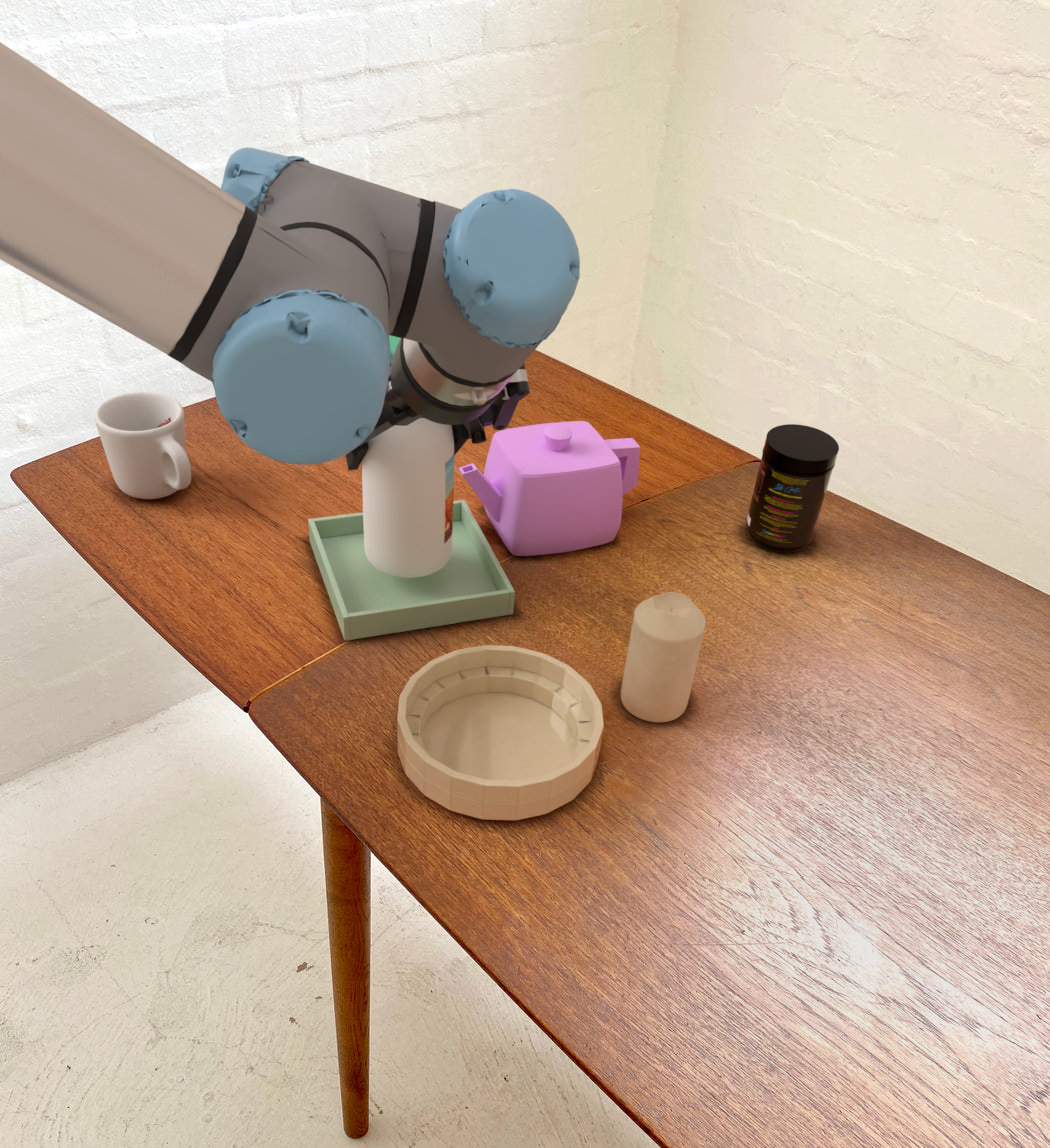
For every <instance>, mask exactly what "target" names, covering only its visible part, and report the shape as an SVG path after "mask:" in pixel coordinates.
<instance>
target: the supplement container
mask: <svg viewBox="0 0 1050 1148" xmlns="http://www.w3.org/2000/svg"><path fill="white" fill-rule="evenodd" d="M839 450H840V446H839V443H838V442H837V440H836V439H835V438H834V437H833V436H832V435H830V434H828V433H827V432H825V431H823V430H821V429H819V428H816V427H813V426H808V425H804V424H794V423H789V424H781V425H776V426H774V427H772V428H771V429H769V430H768V432H767V433H766V436H765V441H764V445H763V448H762V455H761V460H760V463H759V467H758V471H757V475H756V479H755V484H754V487H753V491H752V495H751V500H750V504H749V508H748V512H747V516H746V521H745V532H746V534H747V535H748V537H749V538H750V540H751V541H752V542H753V544H756V545H757V546H759V547H760V548H763V549H765V550H767V551H770V552H773V553H781V554H790V553H797V552H799V551H801V550H803V549H805V548H806V547H808V546H809V545H810V544H811V542H812V541H813V537H814V535H815V531H816V528H817V524H818V521H819V517H820V514H821V511H822V507H823V504H824V500H825V497H826V494H827V491H828V487H829V483H830V481H831V476H832V473H833V470H834V468H835V465H836V461H837V457H838V454H839Z"/></svg>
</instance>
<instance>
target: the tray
mask: <svg viewBox="0 0 1050 1148" xmlns="http://www.w3.org/2000/svg"><path fill="white" fill-rule="evenodd" d="M307 522H308V523H307V524H308V536H309V538H308V539H309V543H310V547H311V549H312V552H313V555H314V558H315V560H316V561H315V562H316V564H317V566H318V569H319V572H320V576H321V578H322V581H323V584H324V586H325V589H326V592H327V595H328V597H329V601H330V604H331V606H332V609H333V612H334V614H335V619H336V620H337V621H336V622H337V623H338V626H339V629H340V631H341V634H342V637H343V640H344V641H347V642H348V641H352V640H358V639H365V638H371V637H376V636H377V637H378V636H383V635H384V636H385V635H390V634H396V633H403V632H410V631H415V630H422V629H428V628H433V627H441V626H447V625H453V624H458V623H459V624H460V623H466V622H471V621H472V622H473V621H478V620H479V621H480V620H485V619H490V618H498V617H504V616H510V615H514V609H515V597H516V590H515V589H514V587H513V585H512V584H511V582H510V580H509V578H508V576H507V574H506V573H505V571H504V569H503V567H502V565H501V563H500V562H499V559H498V557H497V555H496V554H495V552H494V551H493V549H492V547H491V545H490V543H489V541H488V540H487V537H486V536H485V534H484V533H483V530H482V528H481V527H480V525H479V523H478V521H477V519H476V517H475V516H474V514H473V512H472V511H471V509H470V507H469V504H468V503H467V501H466V499H458V500H453V529H452V550H451V556H450V558H449V560H448V562H447V563H446V564H445V565H444V567H443V568H441V569H440V570H438V571H437V572H435V573H433V574H430V575H426V576H423V577H416V578H403V577H396V576H391V575H388V574H385V573H383V572H381V571H379V570H377V569H376V568H375V567H373V566H372V564H371V563H370V562H369V560H368V559H367V557H366V554H365V548H364V526H363V511H362V512H354V513H345V514H338V515H329V516H321V517H314V518H308V519H307Z"/></svg>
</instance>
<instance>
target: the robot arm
mask: <svg viewBox="0 0 1050 1148" xmlns="http://www.w3.org/2000/svg"><path fill="white" fill-rule="evenodd" d="M0 260H1V261H3V262H4V263H6V264H7V265H9V266H11V267H13V268H15V269H16V270H18V271H20V272H22V273H24V274H25V275H27V276H29V277H30V278H32V279H34V280H36V281H38V282H40V283H41V284H43V285H44V286H46V287H48V288H50V289H51V290H54V291H55V292H56V293H58V294H61V295H63V296H64V297H66V298H67V299H69V300H70V301H73V302H74V303H76V304H78V305H80V306H82V307H83V308H85V309H86V310H89V311H90V312H92V313H94V314H95V315H98V316H99V317H101V318H103V319H104V320H106V321H108V322H110V323H112V324H113V325H115V326H117V327H118V328H119V329H121V330H123V331H125V332H127V333H128V334H130V335H132V336H134V337H135V338H138V339H139V340H141V341H142V342H144V343H146V344H148V345H150V346H152V347H153V348H155V349H157V350H158V351H160V352H163V353H164V354H166V355H167V356H168V357H170V358H171V359H173V360H175V361H176V362H178V363H180V364H181V365H183V366H184V367H186V368H187V369H188V370H190V371H192V372H194V373H195V374H198V375H199V376H201V377H202V378H205V379H206V380H208V381H210V382H212V386H213V389H214V395H215V399H216V403H217V406H218V410H219V412H220V414H221V415H222V416H223V418H224V419H225V421H226V423H227V425H228V426H229V427H230V429H231V430H232V431H233V432H234V433H235V434H236V436H238V438H239V439H240V441H242V443H244V444H245V446H247V447H249V448H250V449H252V450H253V451H255V452H257V453H258V454H260V455H262V456H264V457H266V458H269V459H272V460H274V461H277V462H280V463H285V464H291V465H303V466H304V465H306V466H307V465H308V466H309V465H310V466H311V465H318V464H324V463H329V462H332V461H335V460H338V459H340V458H342V457H344V456H345V459H346V464H347V470H348V471H355V470H358V469H359V467H360V466H361V465H362V460H363V458H364V456H365V454H366V452H367V450H368V449H369V447H368V442H367V441H369V440H371V439H372V438H374V437H376V436H378V435H379V434H381V433H383V432H384V431H386V430H388V429H389V428H391V427H393V426H407V425H409V424H411V423H412V422H414V421H416V420H417V419H419V418H425V419H427V420H430V421H432V422H435V423H439V424H445V425H452V429H453V437H454V457H455V456H456V455H457V453H458V452H459V451H460V450H461V449H462V447H463V446H464V445H465V444H466V442H467V441H468V440H471V444H474V445H478V444H482V443H486V442H487V436H486V431H485V427H489V426H492V429H493V430H494V431H502V430H506V429H508V427H509V425H510V422H511V421H512V418H513V416H514V413H515V412H516V409H517V407H518V405H519V403H520V401H521V400H523V399H524V398H525V397H527V396H529V395H530V393H531V391H530V385H529V379H528V374H527V373H528V372H527V369H526V363H525V362H526V361H527V360H528V359H529V358H530V356H532V354H533V353H534V352H535V350H536V349H537V348H538V347H539V346H540V344H541V343H543V342H544V341H547V339H548V338H549V336H550V335H551V334H552V333H554V331H555V330H556V329H557V327H558V325H559V323H560V321H561V319H562V318H563V315H564V314H565V313H566V311H567V310H568V307H569V304H570V303H571V301H572V300H573V298H574V295H575V293H576V290H577V287H578V284H579V280H580V277H581V274H580V270H581V269H580V268H581V257H580V252H579V246H578V244H577V241H576V237H575V235H574V232H573V231H572V229H571V227H570V226H569V224H568V222H567V220H566V219H565V218H564V217H563V215H562V214H561V213H560V212H559V211H558V210H557V209H556V208H555V207H554V205H552V204H551V203H549V202H548V201H547V200H545V199H543V198H542V197H540V196H538V195H536V194H534V193H531V192H529V191H527V190H521V189H517V188H508V189H499V190H497V189H496V190H494V191H489V192H485V193H483V194H481V195H478V196H476V197H475V198H474V199H473V200H471V201H470V202H469V203H468V204H467V205H466V206H465V207H463V208H462V209H461V208H458V207H455V206H452V205H449V204H446V203H443V202H439V201H436V200H433V201H431V200H429V199H425V198H422V197H417V196H415V195H412V194H408V193H405V192H402V191H399V190H396V189H393V188H389V187H387V186H385V185H381V184H377V183H374V182H371V181H368V180H364V179H361V178H359V177H355V176H352V175H349V174H346V173H343V172H340V171H337V170H333V169H330V168H327V167H324V166H322V165H321V166H320V165H317V164H314V163H312V162H310V160H308V159H306V158H304V157H302V156H300V155H291V156H289V155H284V154H280V153H276V152H271V151H267V150H263V149H258V148H254V147H249V146H247V147H242V148H239V149H237V150H235V151H233V152H232V154H230V156H229V158H228V160H227V162H226V165H225V168H224V171H223V177H222V183H221V185H220V186H218V185H217V184H215V183H213V182H212V181H211V180H209V179H208V178H206V177H204V176H203V175H202V174H200V173H199V172H197V171H195V170H194V169H192V168H191V167H189V166H188V165H186V164H185V163H183V162H182V161H181V160H179V159H177V158H176V157H175V156H173V155H171V154H170V153H168V152H167V151H165V150H164V149H162V148H161V147H159V146H158V145H156V144H155V143H153V142H152V141H150V140H149V139H147V138H146V137H144V136H142V135H141V134H140V133H138V132H137V131H135V130H134V129H132V127H131V128H130V127H129V126H127V125H126V124H124V123H123V122H121V121H120V120H119V119H117V118H115V117H114V116H112V115H111V114H110V113H108V112H107V111H105V110H103V109H102V108H100V107H99V106H97V105H96V104H94V103H93V102H91V101H90V100H89V99H87V98H85V97H84V96H82V95H81V94H80V93H78V92H77V91H74V90H73V89H72V88H70V87H68V85H66V84H65V83H63V82H61V81H60V80H58V79H57V78H55V77H54V76H52V75H51V74H49V73H47V72H46V71H45V70H43V69H42V68H40V67H39V66H37V65H36V64H34V63H33V62H31V61H30V60H29V59H27V58H25V57H24V56H22V55H21V54H19V53H18V52H16V51H15V50H13V49H12V48H10V47H9V46H7V45H6V44H4V43H2V42H1V41H0ZM389 335H391V336H395V337H399V338H401V339H400V341H399V343H398V345H397V347H396V350H395V354H394V357H393V359H392V353H391V348H390V343H389ZM392 360H393V362H392ZM391 363H392V367H391Z"/></svg>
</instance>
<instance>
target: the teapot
mask: <svg viewBox="0 0 1050 1148" xmlns="http://www.w3.org/2000/svg"><path fill="white" fill-rule="evenodd" d="M640 454H641V446H640V444H638V442H637V441H636V440H635V438H633V437H625V438H612V439H611V438H608V439H604V438H603V437H602V436H601V434H600V433H599V432H598V431H597V430H596V429H595V428H594V427H593V426H592V424H591V423H590V422H589V421H586V420H570V421H559V422H548V423H547V422H546V423H537V424H531V425H525V426H517V427H512V428H511V427H510V428H505V429H503V430H497V431H496V432H494V433H493V436H492V439H491V441H490V446H489V449H488V453H487V456H486V460H485V464H484V471H483V473H482V472H481V471H480V470H479V469H478V468H477V466H476V465H475V463H473V462H472V463H469V464H466V465H463V466H460V467H458V471H459V473H460V474H461V476H462V478H463V479H464V480H465V481H466V483H467V484H468V486H469V487H470V488H471V489H472V491H473V492H474V494H475V495H476V496H477V498H478V499H479V501H480V502H481V503H482V505H483V508H484V511H485V513H486V515H487V518H488V520H489V521H490V523H491V525H492V526H493V528H494V530H495V532H496V533H497V535H498V537H499V538H500V540H501V541H502V543H503V544H504V546H505V547H506V548H507V550H508V551H509V553H510V554H512V555H513V556H516V557H535V556H544V555H545V556H546V555H553V554H554V555H555V554H563V553H568V552H574V551H579V550H584V549H589V548H592V547H598V546H602V545H605V544H608V543H611V542H613V541H614V540H615V539H616V536H617V535H618V532H619V529H620V527H621V523H622V515H623V501H624V499H623V497H624V495H625V494H627V493H629V492H631V491H632V490H634V489H635V488H637V487H638V485H639V470H640V456H641V455H640Z"/></svg>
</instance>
